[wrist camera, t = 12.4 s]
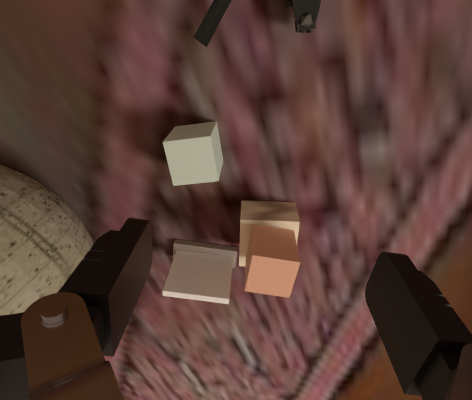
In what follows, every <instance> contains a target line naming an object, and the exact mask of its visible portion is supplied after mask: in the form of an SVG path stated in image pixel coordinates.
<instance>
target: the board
mask: <svg viewBox="0 0 472 400" xmlns="http://www.w3.org/2000/svg"><path fill="white" fill-rule="evenodd" d="M237 251H238V247H232V246H224V245H216V244H209V243H201V242H193V241H185V240H178V239H175V241H174V247H173V263H172V266H171V268H170V271H169V274H168V277H167V280H166V283H165V286H164V289H163V296H169V297H177V298H185V299H193V300H201V301H209V302H217V303H225V304H229V296H230V285H231V274H232V268H235V264H236V258H237Z"/></svg>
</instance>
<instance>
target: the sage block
mask: <svg viewBox="0 0 472 400" xmlns="http://www.w3.org/2000/svg"><path fill="white" fill-rule="evenodd" d="M163 146H164V150H165V154H166V158H167V162H168V166H169V170H170V174H171V178H172V182H173V186H177V185H186V184H196V183H205V182H215V181H219V177H220V173H221V168H222V164H223V157H222V151H221V145H220V139H219V133H218V127H217V121H215V122H207V123H199V124H191V125H183V126H175V127H174V129H173V130H172V131H171V132H170V133H169V135H168V136H167V137H166V138H165V140H164V141H163Z"/></svg>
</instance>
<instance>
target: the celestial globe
mask: <svg viewBox="0 0 472 400" xmlns="http://www.w3.org/2000/svg"><path fill="white" fill-rule="evenodd" d="M92 246H93V241H92V239H91V237H90V235H89V233H88V232H87V230H86V229H85V227H84V226H83V224H82V222H81V221H80V219H79V218H78V216H77V215H76V214H75V213H74V212H73V210H72V209H71V208H70V207H69V206H68V205H67V204H66V203H65V202H64V201H63V200H62V199H61V198H60V197H58V196H57V195H56V194H55V193H53V192H52V191H51V190H50V189H48V188H46V187H45V186H43V185H42V184H40V183H38V182H37V181H35V180H33V179H32V178H30V177H28V176H26V175H24V174H22V173H19V172H17V171H15V170H12V169H10V168H8V167H5V166H3V165H0V316H1V315H9V314H17V313H22V312H25V310H26V309H27V308H28V307H29V306H30V305H31V304H32V303H34V302H35V301H37V300H38V299H40V298H42V297H44V296H47V295H50V294H54V293H58V291H59V290H60V289H61V287H62V286H63V285H64V283H65V282H66V281H67V279H68V278H69V277H70V275H71V274H72V273H73V271H74V270H75V268H76V267H77V266H78V264H79V263H80V262H81V260H82V259H84V256H85V255H86V254H87V252H88V251H90V248H91V247H92Z"/></svg>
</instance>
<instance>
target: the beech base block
mask: <svg viewBox="0 0 472 400" xmlns="http://www.w3.org/2000/svg"><path fill="white" fill-rule="evenodd" d="M299 223H300V221H299V217H298V213H297V209H296V205H295V202H270V201H241V216H240V254H239V266H246V254H247V249H248V244H249V239H250V234H251V230H252V225H253V224H256V225H262V226H269V227H275V228H282V229H288V230H294V234H295V239H296V243H297V239H298V231H299Z"/></svg>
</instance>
